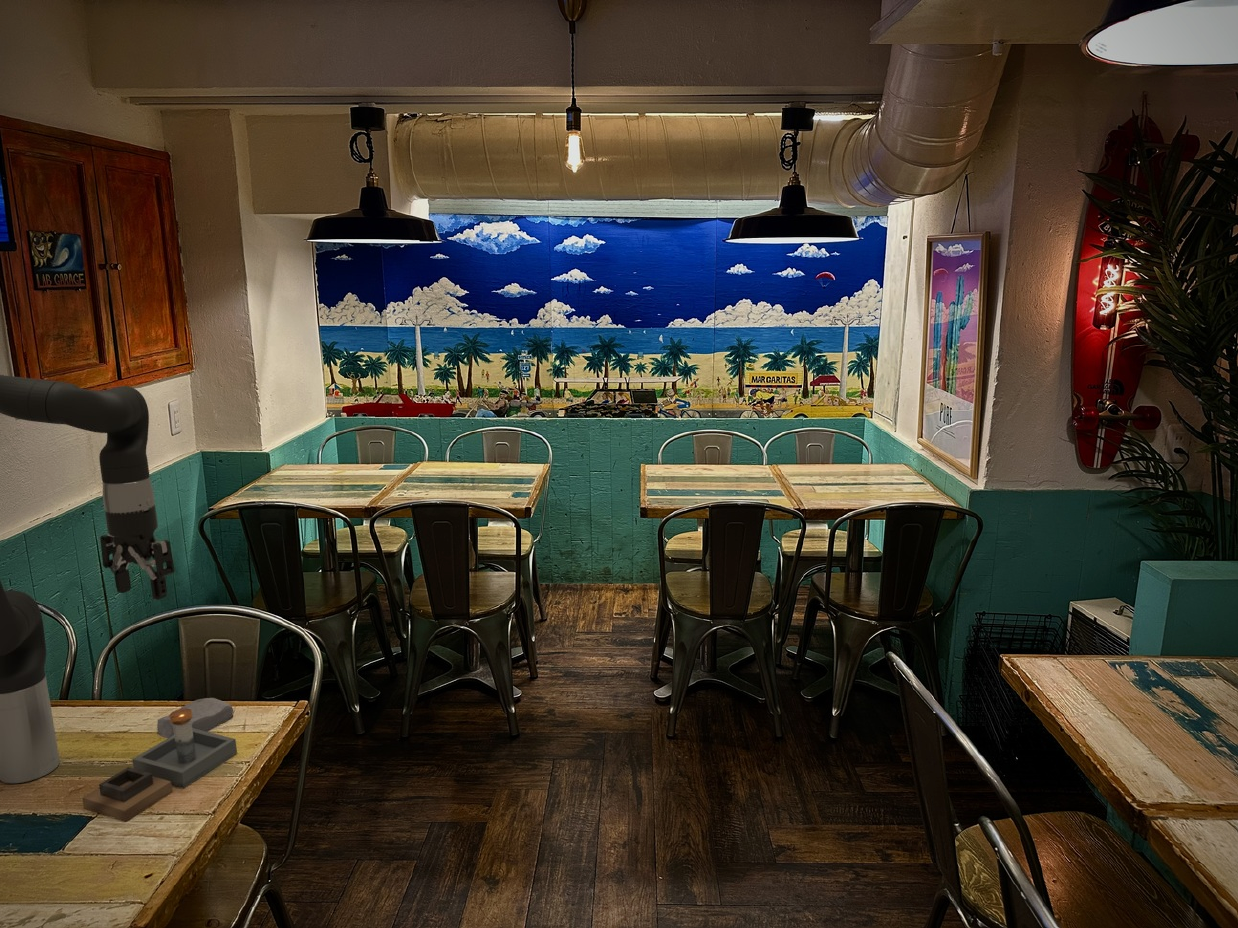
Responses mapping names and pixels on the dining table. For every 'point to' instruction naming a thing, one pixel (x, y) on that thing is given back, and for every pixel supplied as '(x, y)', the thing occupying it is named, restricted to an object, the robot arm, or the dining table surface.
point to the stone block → (200, 716)
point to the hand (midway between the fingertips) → (142, 594)
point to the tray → (208, 757)
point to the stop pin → (183, 735)
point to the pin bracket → (127, 794)
